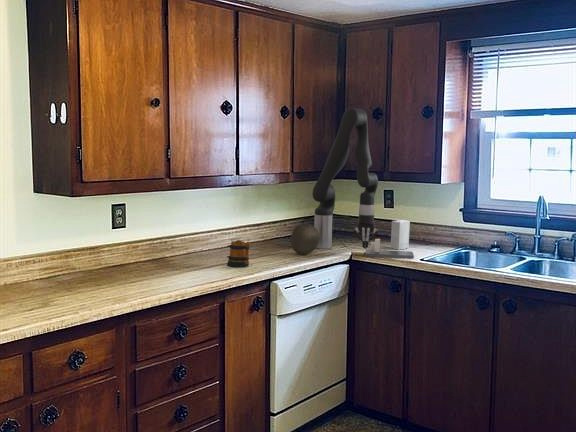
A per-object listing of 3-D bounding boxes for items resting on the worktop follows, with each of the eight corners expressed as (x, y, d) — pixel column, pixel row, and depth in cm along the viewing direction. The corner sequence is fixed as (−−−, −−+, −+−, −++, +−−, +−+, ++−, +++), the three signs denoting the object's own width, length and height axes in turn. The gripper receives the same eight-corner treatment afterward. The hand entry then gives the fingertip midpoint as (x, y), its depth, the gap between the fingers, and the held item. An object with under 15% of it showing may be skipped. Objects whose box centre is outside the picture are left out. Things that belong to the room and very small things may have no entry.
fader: (374, 252, 314) (375, 239, 313) (374, 250, 317) (375, 238, 316) (379, 252, 314) (380, 239, 313) (379, 251, 317) (380, 238, 316)
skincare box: (400, 247, 342) (401, 219, 340) (409, 248, 337) (410, 220, 335) (389, 248, 336) (391, 220, 335) (398, 250, 332) (400, 221, 330)
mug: (221, 265, 282) (221, 239, 280) (239, 262, 289) (240, 237, 287) (240, 269, 272) (240, 243, 271) (258, 267, 279) (258, 241, 278)
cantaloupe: (289, 256, 305) (290, 225, 303) (290, 251, 319) (291, 221, 317) (319, 257, 305) (320, 226, 303) (319, 252, 319) (320, 222, 317)
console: (365, 256, 311) (366, 245, 311) (365, 252, 323) (366, 241, 322) (413, 258, 308) (414, 247, 308) (412, 254, 320) (412, 243, 320)
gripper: (352, 214, 311) (351, 249, 313) (380, 215, 309) (378, 250, 311) (353, 212, 318) (351, 246, 320) (380, 213, 317) (378, 247, 319)
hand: (365, 248), depth 316 cm, fingers closed
